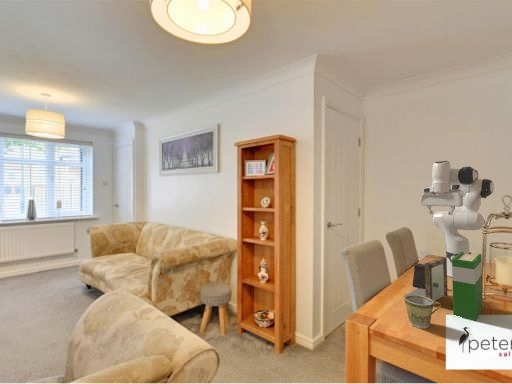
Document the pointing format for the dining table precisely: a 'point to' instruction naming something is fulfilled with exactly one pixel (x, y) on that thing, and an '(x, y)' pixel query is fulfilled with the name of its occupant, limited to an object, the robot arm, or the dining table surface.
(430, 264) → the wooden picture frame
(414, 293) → the threshold mat
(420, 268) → the door stopper
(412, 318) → the ceramic cup
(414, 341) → the dining table surface
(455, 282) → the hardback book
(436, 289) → the door
